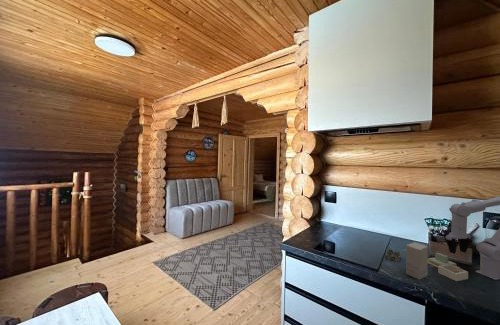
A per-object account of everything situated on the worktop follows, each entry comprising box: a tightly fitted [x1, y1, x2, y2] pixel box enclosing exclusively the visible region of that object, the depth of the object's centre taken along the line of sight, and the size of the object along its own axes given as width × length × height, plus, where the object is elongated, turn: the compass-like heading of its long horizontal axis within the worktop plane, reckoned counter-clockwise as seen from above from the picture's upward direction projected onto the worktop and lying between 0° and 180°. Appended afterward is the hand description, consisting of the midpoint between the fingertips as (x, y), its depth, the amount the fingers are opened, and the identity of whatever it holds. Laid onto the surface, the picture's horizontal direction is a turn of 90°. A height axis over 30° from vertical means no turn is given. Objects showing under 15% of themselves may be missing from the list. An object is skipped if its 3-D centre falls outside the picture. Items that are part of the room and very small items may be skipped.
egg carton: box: [385, 247, 403, 263], centre depth 128 cm, size 11×8×4 cm
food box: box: [437, 264, 469, 282], centre depth 108 cm, size 8×8×4 cm
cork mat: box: [428, 260, 461, 269], centre depth 119 cm, size 11×11×1 cm
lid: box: [428, 252, 457, 266], centre depth 119 cm, size 9×9×5 cm
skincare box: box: [405, 241, 429, 280], centre depth 108 cm, size 8×7×16 cm
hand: (457, 252), depth 111 cm, fingers open, 7 cm apart
